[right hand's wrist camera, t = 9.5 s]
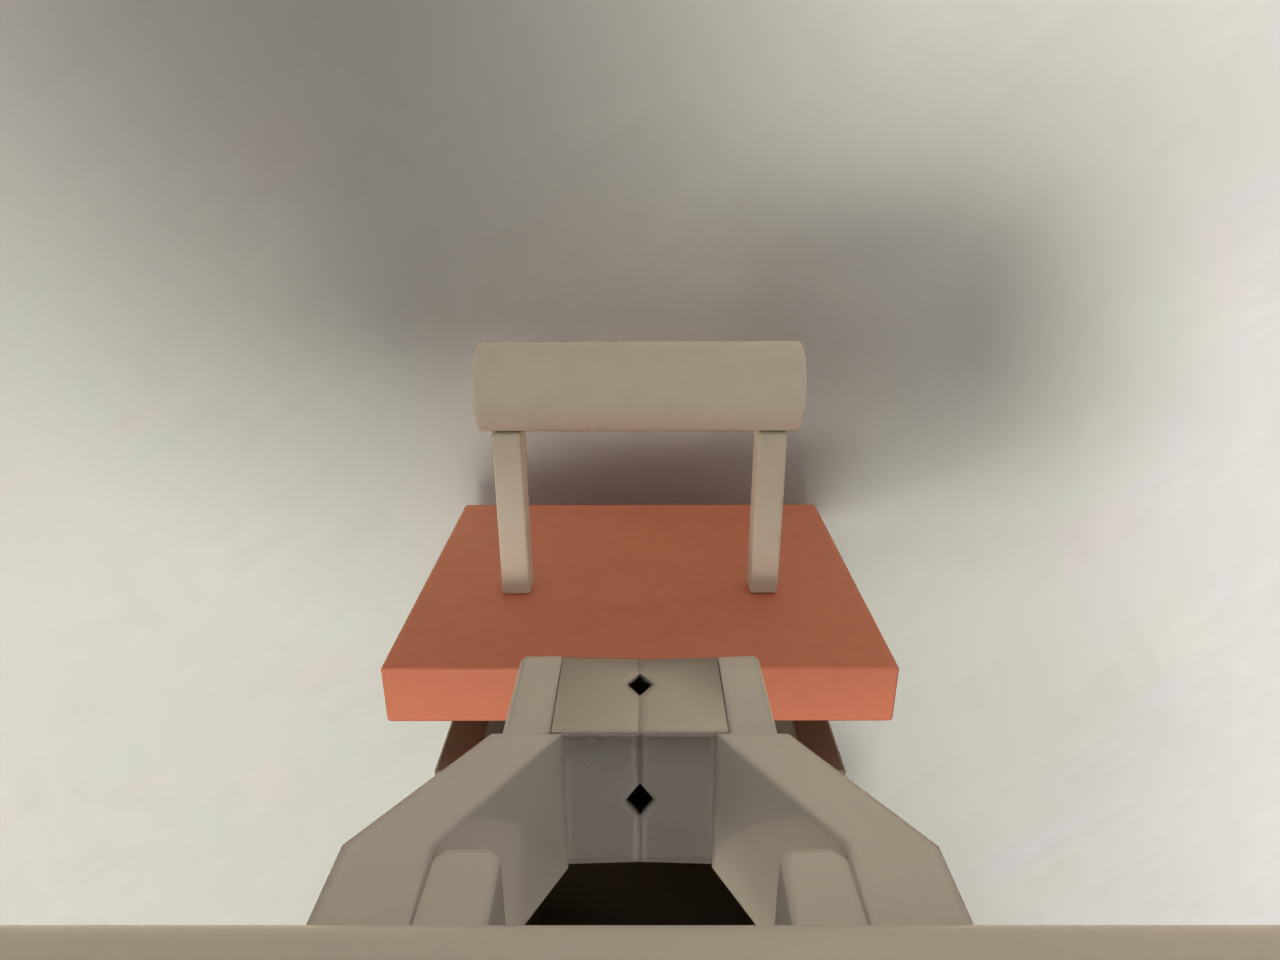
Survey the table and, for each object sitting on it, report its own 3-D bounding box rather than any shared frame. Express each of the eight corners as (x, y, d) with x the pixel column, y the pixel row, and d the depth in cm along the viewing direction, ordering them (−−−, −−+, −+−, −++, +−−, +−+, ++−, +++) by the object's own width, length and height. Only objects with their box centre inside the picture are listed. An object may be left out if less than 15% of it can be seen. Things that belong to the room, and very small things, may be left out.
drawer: (448, 304, 20) (340, 380, 13) (830, 303, 20) (938, 379, 13) (500, 915, 28) (450, 1184, 20) (781, 915, 28) (832, 1184, 20)
